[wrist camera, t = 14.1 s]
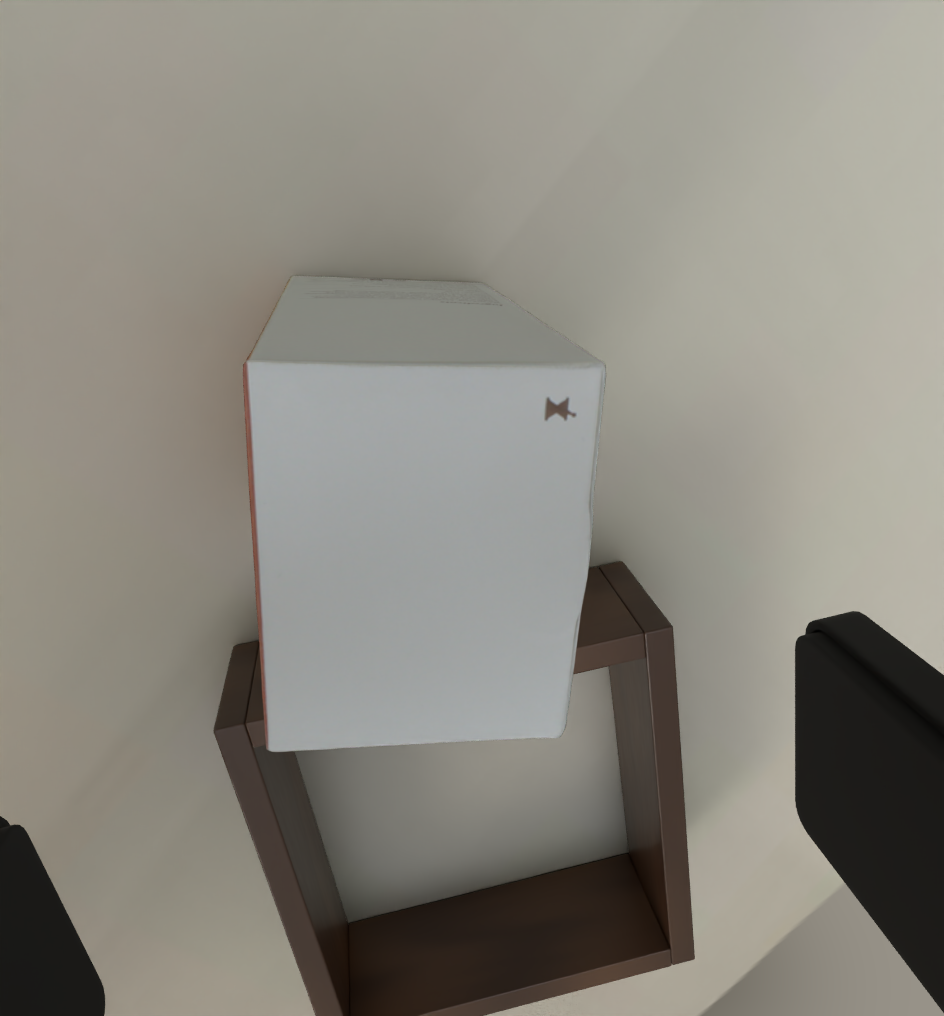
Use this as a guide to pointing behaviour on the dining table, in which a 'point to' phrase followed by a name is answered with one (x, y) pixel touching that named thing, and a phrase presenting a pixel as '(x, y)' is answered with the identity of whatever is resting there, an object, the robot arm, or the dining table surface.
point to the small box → (417, 513)
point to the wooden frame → (506, 908)
